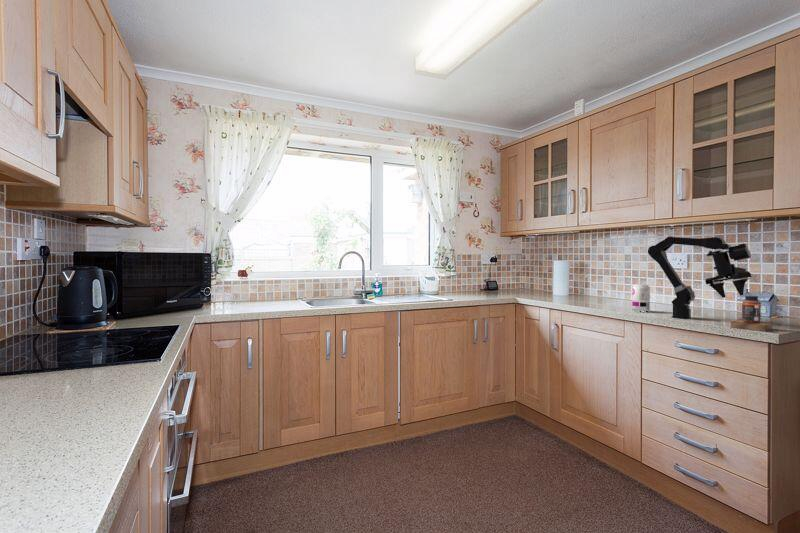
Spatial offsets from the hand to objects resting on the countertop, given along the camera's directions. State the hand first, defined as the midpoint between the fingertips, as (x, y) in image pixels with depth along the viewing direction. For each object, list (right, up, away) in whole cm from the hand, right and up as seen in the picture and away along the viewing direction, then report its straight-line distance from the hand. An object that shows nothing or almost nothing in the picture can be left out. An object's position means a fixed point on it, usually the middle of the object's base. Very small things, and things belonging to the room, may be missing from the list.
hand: (732, 296), depth 182 cm
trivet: (-3, -12, -13) cm, 18 cm away
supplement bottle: (-3, -10, -13) cm, 17 cm away
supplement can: (-19, -11, +38) cm, 44 cm away
